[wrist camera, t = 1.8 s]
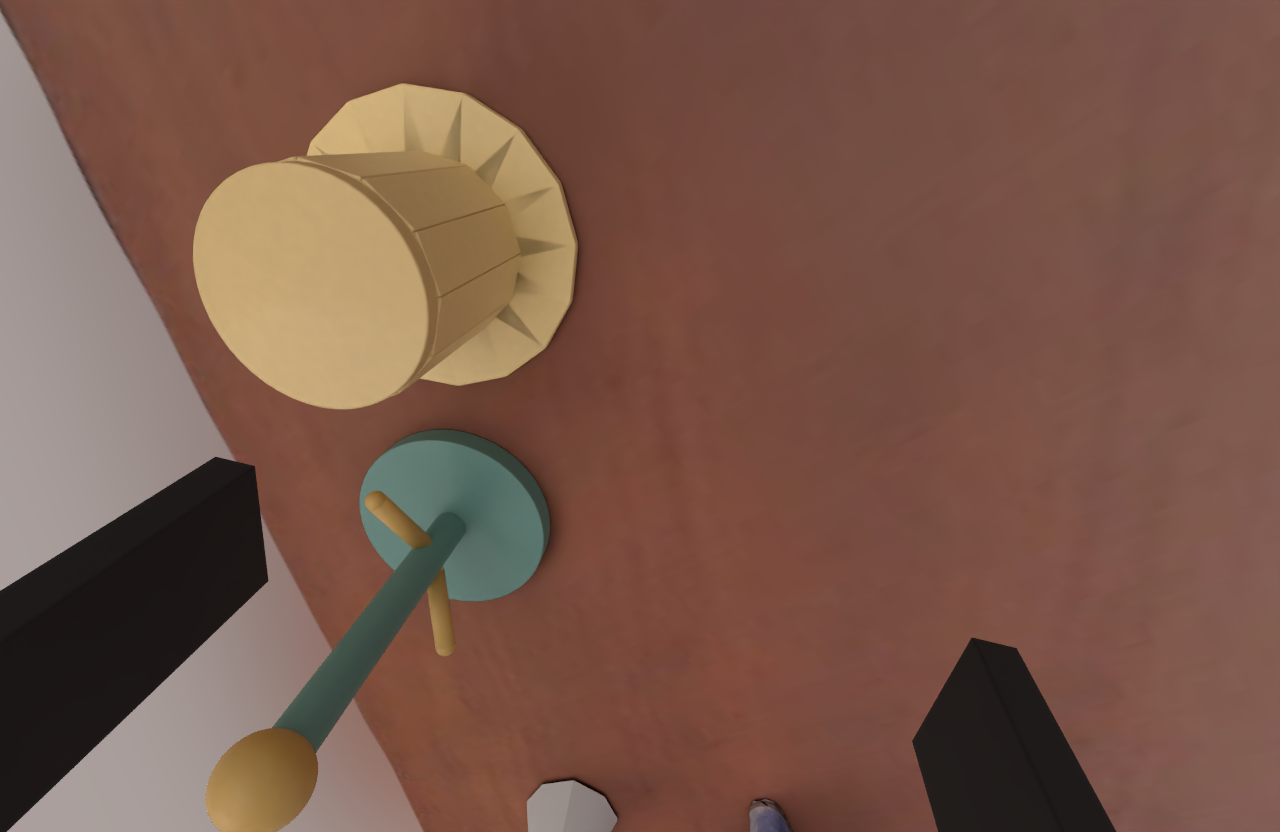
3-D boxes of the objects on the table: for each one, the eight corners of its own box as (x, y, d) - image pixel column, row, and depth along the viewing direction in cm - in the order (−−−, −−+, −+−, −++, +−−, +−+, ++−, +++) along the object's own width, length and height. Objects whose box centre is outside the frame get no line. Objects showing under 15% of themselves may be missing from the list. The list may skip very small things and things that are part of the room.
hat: (254, 134, 31) (35, 134, 21) (523, 45, 28) (408, -3, 18) (373, 400, 37) (243, 495, 27) (609, 353, 33) (557, 443, 24)
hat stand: (341, 445, 38) (-4, 718, 20) (515, 414, 36) (292, 696, 18) (414, 594, 43) (182, 925, 25) (573, 576, 40) (442, 933, 22)
